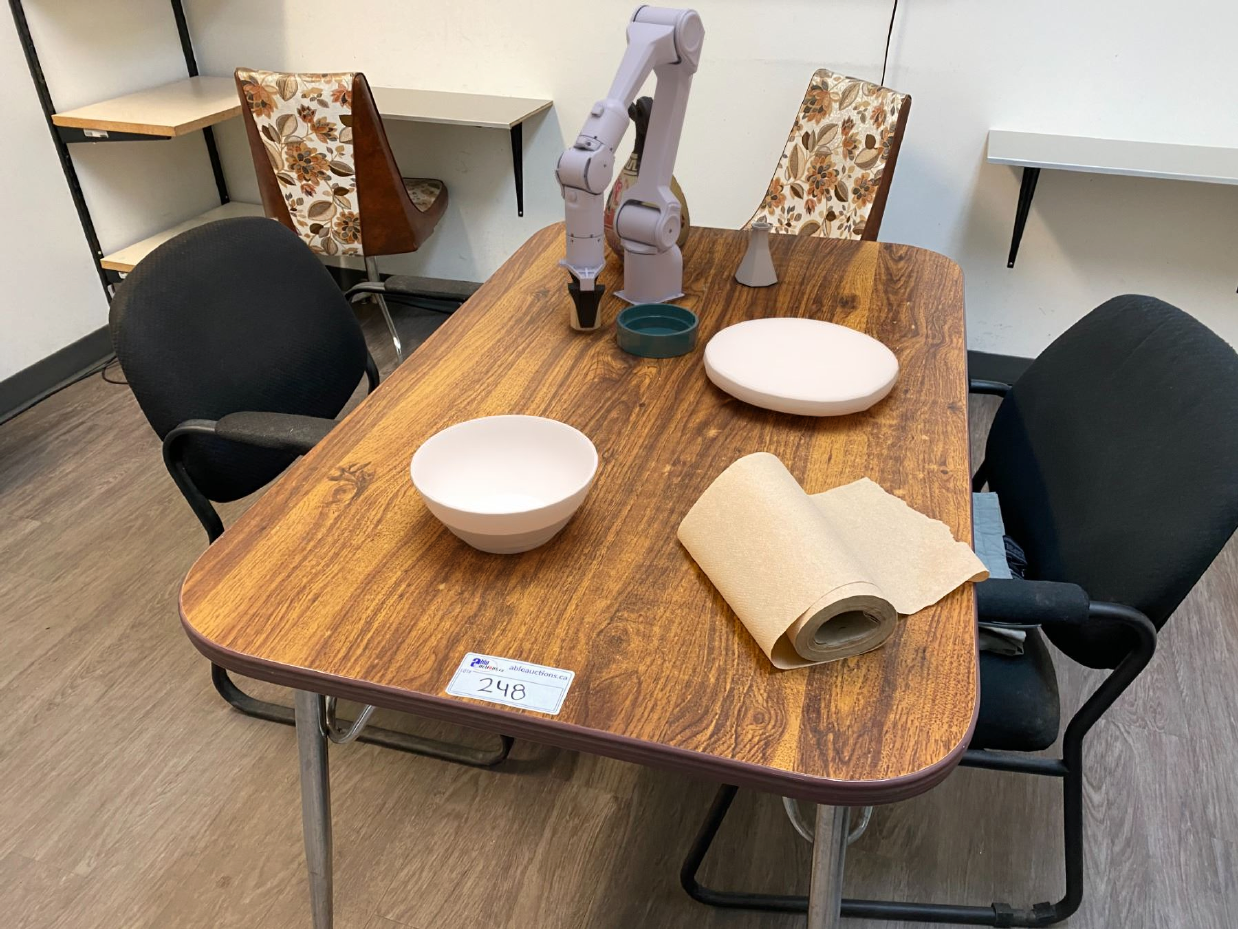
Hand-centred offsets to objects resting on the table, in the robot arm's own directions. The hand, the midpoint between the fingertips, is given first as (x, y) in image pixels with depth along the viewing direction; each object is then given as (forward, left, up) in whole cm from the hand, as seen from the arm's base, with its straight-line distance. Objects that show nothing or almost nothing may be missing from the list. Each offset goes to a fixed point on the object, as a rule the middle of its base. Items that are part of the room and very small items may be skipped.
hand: (586, 317), depth 143 cm
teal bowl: (-5, +12, -2) cm, 13 cm away
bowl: (+37, +38, -2) cm, 53 cm away
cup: (0, 0, -2) cm, 2 cm away
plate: (-13, +33, -2) cm, 36 cm away
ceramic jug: (-24, -15, -2) cm, 28 cm away
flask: (-36, +1, -2) cm, 36 cm away
